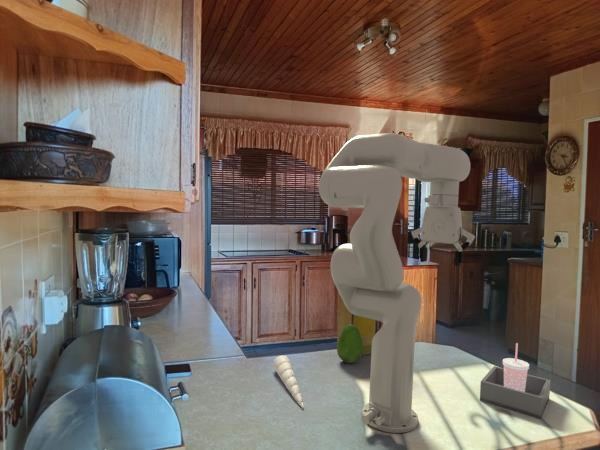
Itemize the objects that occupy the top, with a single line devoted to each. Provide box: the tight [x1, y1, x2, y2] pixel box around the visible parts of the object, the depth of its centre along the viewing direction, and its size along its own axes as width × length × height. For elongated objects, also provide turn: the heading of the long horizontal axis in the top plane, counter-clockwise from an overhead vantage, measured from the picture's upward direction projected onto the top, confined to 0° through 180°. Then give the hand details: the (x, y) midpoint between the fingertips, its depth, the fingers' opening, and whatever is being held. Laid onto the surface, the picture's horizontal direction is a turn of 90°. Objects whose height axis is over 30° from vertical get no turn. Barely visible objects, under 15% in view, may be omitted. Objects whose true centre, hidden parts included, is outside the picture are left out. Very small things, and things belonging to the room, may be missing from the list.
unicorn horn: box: [273, 355, 305, 409], centre depth 108 cm, size 5×24×5 cm, turn 12°
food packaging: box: [336, 294, 377, 356], centre depth 139 cm, size 13×9×25 cm
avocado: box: [336, 324, 363, 364], centre depth 127 cm, size 8×8×12 cm
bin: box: [479, 365, 551, 420], centre depth 106 cm, size 14×14×5 cm
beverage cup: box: [502, 342, 530, 392], centre depth 105 cm, size 6×6×14 cm
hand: (440, 263), depth 114 cm, fingers open, 9 cm apart
